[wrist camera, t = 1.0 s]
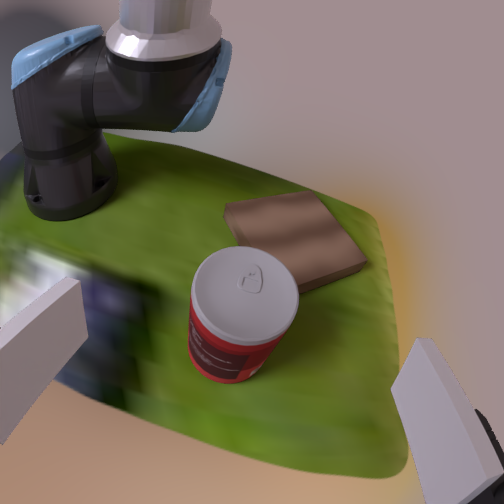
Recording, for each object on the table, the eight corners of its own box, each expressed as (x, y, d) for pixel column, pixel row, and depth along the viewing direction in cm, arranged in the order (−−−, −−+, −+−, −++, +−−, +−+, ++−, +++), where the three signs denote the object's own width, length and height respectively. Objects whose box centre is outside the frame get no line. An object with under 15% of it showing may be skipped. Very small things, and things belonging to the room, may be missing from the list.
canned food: (260, 315, 32) (292, 249, 24) (266, 386, 27) (308, 342, 19) (188, 311, 31) (194, 240, 23) (186, 384, 26) (188, 339, 18)
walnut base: (223, 217, 41) (226, 203, 39) (306, 202, 47) (311, 190, 45) (272, 303, 34) (278, 291, 32) (359, 271, 40) (367, 260, 38)
